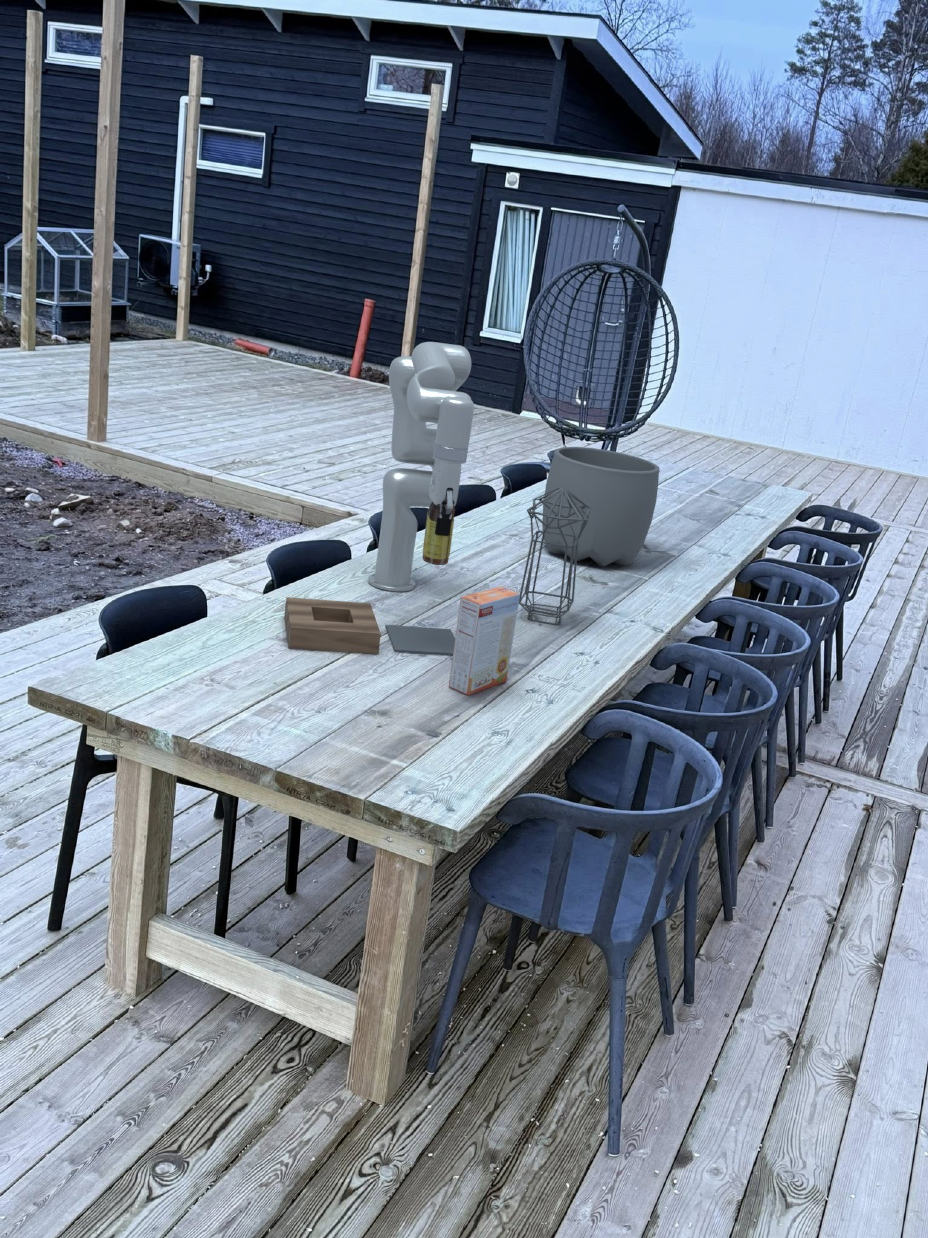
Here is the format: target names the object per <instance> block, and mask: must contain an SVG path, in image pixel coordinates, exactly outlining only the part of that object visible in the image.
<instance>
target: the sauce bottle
mask: <svg viewBox="0 0 928 1238" xmlns="http://www.w3.org/2000/svg"><path fill="white" fill-rule="evenodd" d="M442 504H446V502H442ZM444 509H445V508H442V512H443V510H444ZM455 511H456V509H455V506H454V507H453V509H452V518H451V526H450V532H449V536H440V535H436V534H435V529H436V522H437V517H439V504H438V505H435V504H434V503H433V501H432V503H431V505H430V507H428V509H427V512H426V513H427V514H426V522H425V530H424V539H423V546H422V547H423V548H422V561H423V562H425V563H427V564H431V565H435V566H444V565H448V563H449V558H450V555H451V547H452V539H453V534H454V533H453V532H454V531H453V530H454V524H455V523H454V522H455Z"/></svg>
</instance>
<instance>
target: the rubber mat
mask: <svg viewBox="0 0 928 1238" xmlns="http://www.w3.org/2000/svg"><path fill="white" fill-rule="evenodd" d="M385 630H386V633H387V635H388V639H389V641H390V643H391V645H392V649H393V652H394V653H400V654H401V653H404V654H405V653H407V654H420V655H433V656H434V655H436V656H449V657H453V651H454V644H455V637H456V636H454V633H453V631H452V629H451V628H439V627H426V626H425V627H424V626H413V625H411V626H410V625H400V624H399V625H398V624H397V625H396V624H385Z"/></svg>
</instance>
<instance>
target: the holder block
mask: <svg viewBox="0 0 928 1238" xmlns="http://www.w3.org/2000/svg"><path fill="white" fill-rule="evenodd" d="M283 617H284V618H283V619H284V624H285V625H284V626H285V631H286V638H287V639H286V640H287V646H288V647H287V648H288V650H289V649H290V650H302V651H304V650H305V651H319V652H335V653H351V654H353V653H354V654H369V655H379V652H380V651H379V650H380V642H381V637H382V636H381V635H382V633H381V630H380V626H379V624H378V621H377V618H376V615H375V612H374V610H373V608H372V604H371V603H369V602H360V601H359V602H358V601H357V602H356V601H344V600H343V601H341V600H332V599H331V600H330V599H319V598H318V599H316V598H305V597H293V596H292V597H290V596H285V607H284V616H283Z"/></svg>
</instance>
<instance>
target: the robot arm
mask: <svg viewBox="0 0 928 1238" xmlns="http://www.w3.org/2000/svg"><path fill="white" fill-rule="evenodd" d="M471 369H472V358H471V355H470V352H469V350H468V349H467V348H466V347H465V346H462V345H459V344H450V343H444V342H437V341H436V342H435V341H426V342H421V343H419V344H418V345H416V346H415V347H414V348H413V350H412V353H411V356H407V355H404V356H397V357H396V358H394V359H393V360H392V361H391V363H390V366H389V370H388V371H389V372H388V385H389V390H390V395H391V398H392V399H391V400H392V402H393V418H392V419H393V421H392V433H391V444H390V445H391V446H390V447H391V456H392V458H393V459H394V460H395V461H397V462H398V463H399V462H400V463H403V464H412V465H423V466H429V467H431V468H432V470H422V469H416V468H405V467H403V468H402V467H399V468H397V467H395V468H392V469H388V471H386V472H385V474H384V476H383V480H382V514H381V522H380V523H381V524H380V533H379V537H378V538H379V539H378V540H379V541H378V548H377V555H376V562H375V565H376V566H375V570H374V573H373V574H371V575H369V576H368V579H367V581H368V583H369V584H370V585H371V586H373V587H374V588H377V589H380V590H385V591H390V592H398V593H399V592H401V593H402V592H408V591H409V592H410V591H412V590H414V589H415V587H416V582H415V580H414V579H412V578H411V576H412V567H413V562H414V561H413V559H414V554H415V553H414V552H415V544H416V539H417V531H418V520H417V518H416V516H415V514H414V513H413V512H412V511H411V507H420V508H422V507H423V508H429V507H430V505H431V503H432V501H433V503H434V504H435V505H438V504H439V517H437V522H436V529H435V534H436V535H440V536H449V532H450V526H451V518H452V509H453V507H454V508H455V506H456V505H457V502H458V497H459V490H460V483H461V474H462V465H463V464H466V463H467V458H468V452H469V451H468V450H469V446H470V438H471V432H472V426H473V419H474V412H475V405H474V402H473V400H472V398H471V396H470V395H469V394H467V393H466V392H462V391H458V389H459V388H460V387H461V386H463V384H464V383H465V382H466V381H467V379H468V377H469V375H470V374H471ZM427 423H430V424H431V423H434V424H437V426H436V428H430V427H429V428H428V427H427ZM442 502H446V504H442ZM442 508H445V509H444V510H443V512H442Z"/></svg>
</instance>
